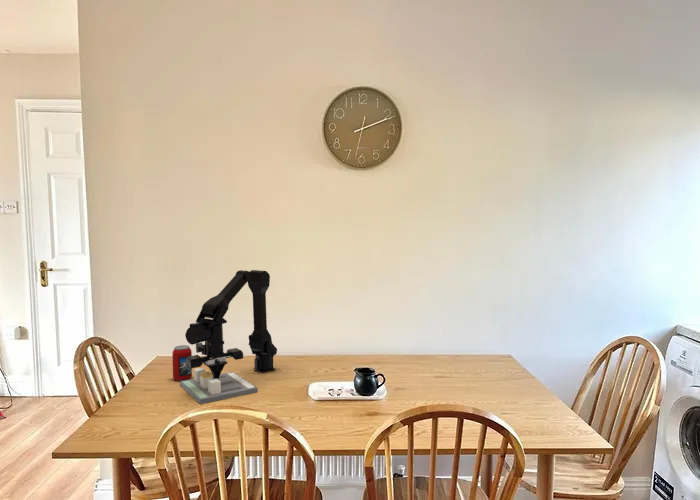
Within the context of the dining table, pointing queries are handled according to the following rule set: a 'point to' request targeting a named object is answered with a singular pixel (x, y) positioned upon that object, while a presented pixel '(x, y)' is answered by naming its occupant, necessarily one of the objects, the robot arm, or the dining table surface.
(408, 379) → the dining table surface
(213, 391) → the block
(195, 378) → the block
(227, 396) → the panel
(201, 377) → the block
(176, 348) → the beverage can
